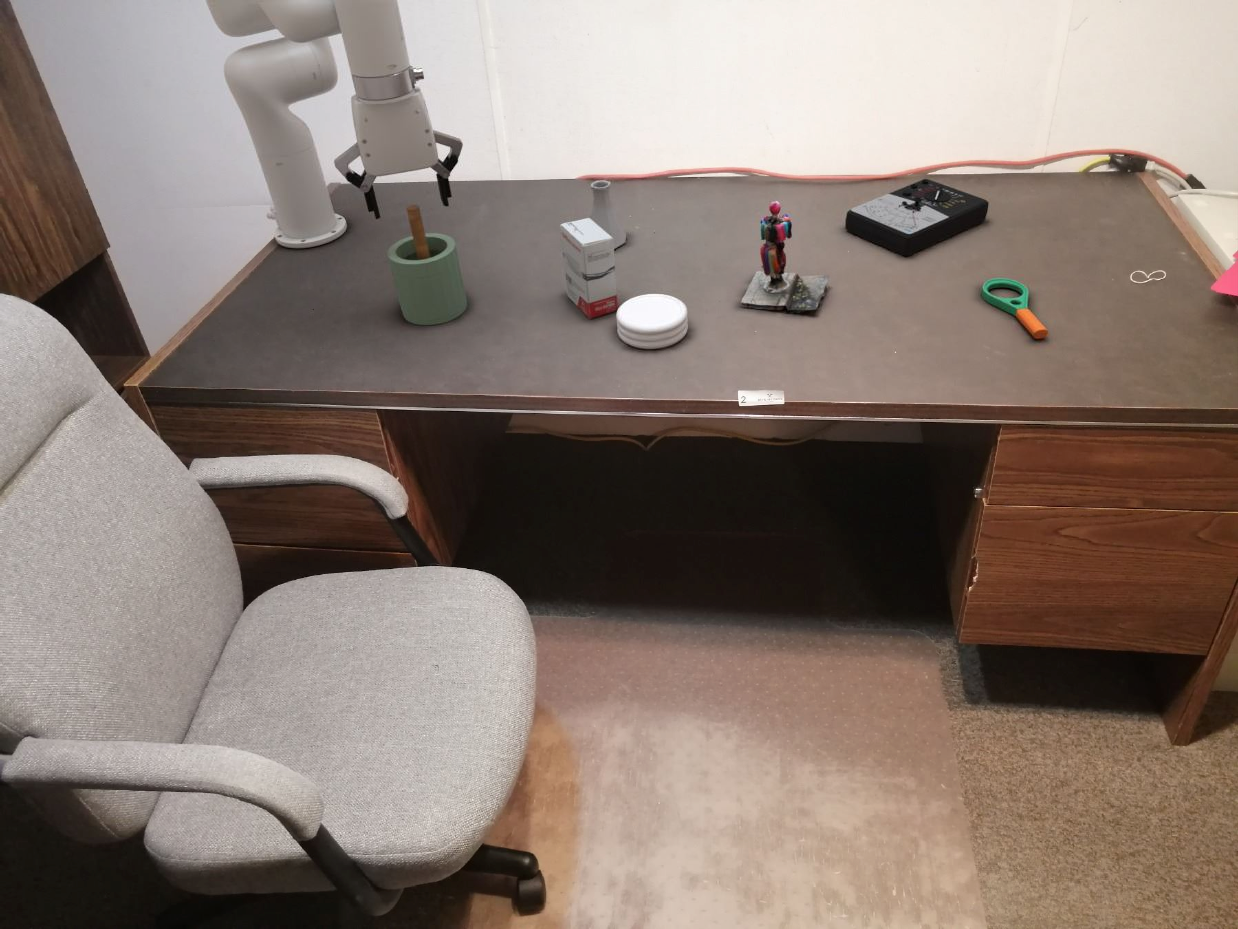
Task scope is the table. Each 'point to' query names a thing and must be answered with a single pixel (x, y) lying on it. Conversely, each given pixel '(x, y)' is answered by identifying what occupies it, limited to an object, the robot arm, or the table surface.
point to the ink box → (589, 267)
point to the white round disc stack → (652, 321)
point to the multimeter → (916, 216)
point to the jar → (428, 280)
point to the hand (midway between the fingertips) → (411, 208)
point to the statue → (781, 272)
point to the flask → (606, 212)
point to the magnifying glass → (1014, 304)
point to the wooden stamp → (418, 232)
